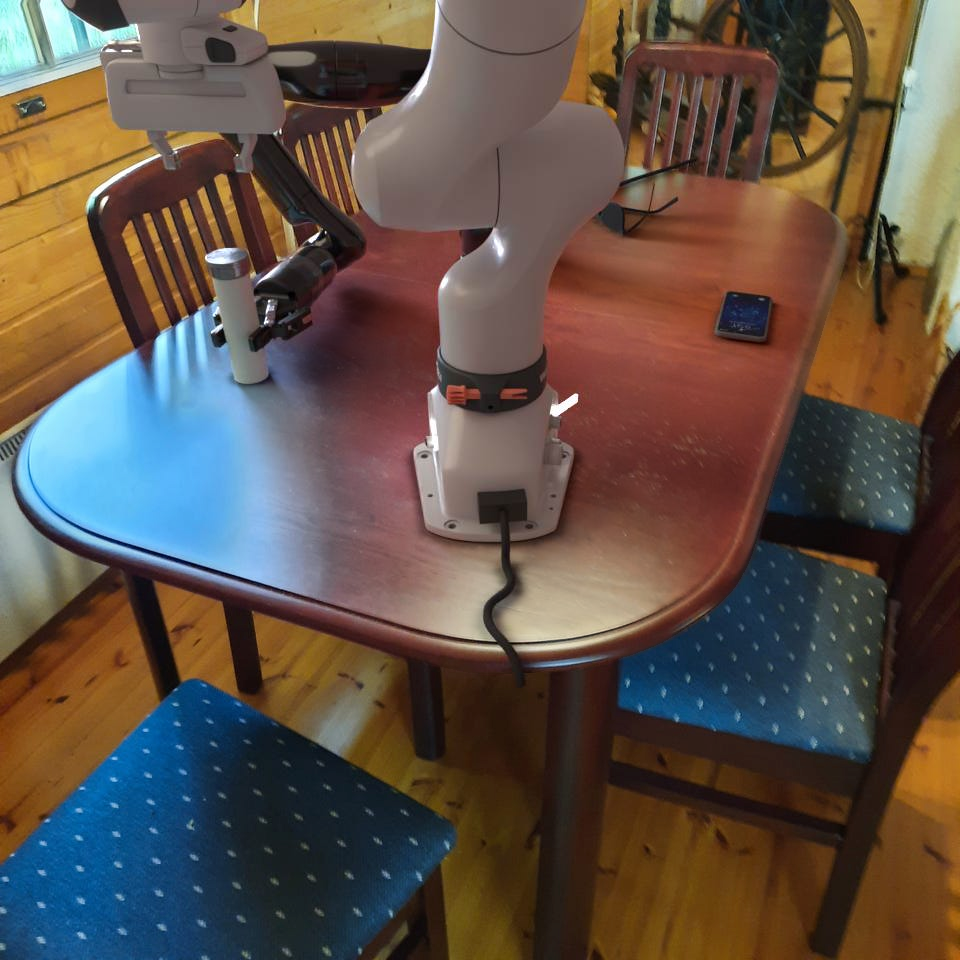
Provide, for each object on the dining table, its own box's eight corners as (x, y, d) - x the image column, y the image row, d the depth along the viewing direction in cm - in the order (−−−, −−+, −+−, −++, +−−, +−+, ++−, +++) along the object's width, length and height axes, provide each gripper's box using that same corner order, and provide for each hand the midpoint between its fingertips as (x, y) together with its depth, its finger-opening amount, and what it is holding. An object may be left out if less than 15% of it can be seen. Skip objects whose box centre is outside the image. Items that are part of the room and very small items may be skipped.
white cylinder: (275, 370, 119) (253, 254, 109) (257, 386, 115) (232, 268, 105) (246, 365, 120) (222, 250, 110) (227, 381, 117) (200, 263, 107)
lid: (259, 265, 110) (256, 250, 109) (236, 281, 106) (233, 266, 105) (224, 260, 111) (220, 245, 110) (199, 276, 107) (196, 261, 106)
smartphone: (773, 295, 132) (766, 339, 121) (772, 301, 133) (765, 345, 121) (725, 289, 134) (713, 331, 123) (724, 295, 135) (712, 337, 123)
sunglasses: (688, 228, 158) (691, 201, 155) (616, 238, 155) (618, 210, 152) (648, 199, 171) (651, 174, 168) (581, 208, 168) (582, 182, 165)
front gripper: (79, 44, 92) (115, 174, 100) (257, 46, 89) (279, 181, 97) (111, 34, 97) (142, 159, 105) (280, 35, 94) (299, 164, 102)
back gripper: (241, 261, 124) (178, 312, 111) (332, 270, 121) (278, 323, 108) (250, 309, 129) (191, 362, 116) (338, 318, 126) (287, 375, 112)
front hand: (209, 170), depth 101 cm, fingers open, 8 cm apart
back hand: (233, 343), depth 112 cm, fingers closed on white cylinder, 4 cm apart
